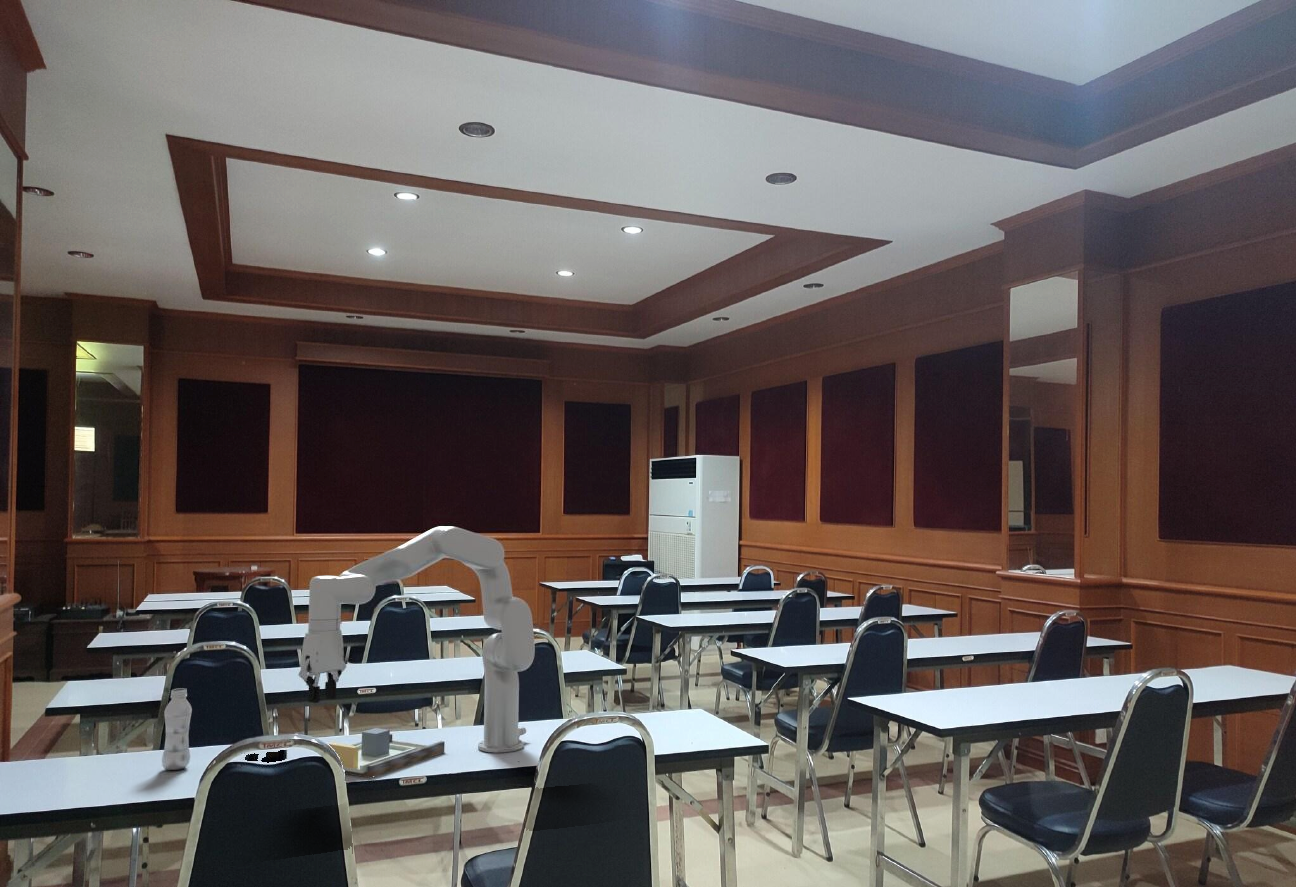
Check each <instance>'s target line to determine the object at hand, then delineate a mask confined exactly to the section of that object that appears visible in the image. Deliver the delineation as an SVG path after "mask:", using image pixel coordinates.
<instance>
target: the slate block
mask: <svg viewBox="0 0 1296 887" xmlns="http://www.w3.org/2000/svg"><path fill="white" fill-rule="evenodd" d="M390 734H391V730H390V729H386V728H385V729H384V728H379V727H374V728H371V729H367V730H364V731H362V732H361V742H362V751H361V755H364V756H370V757H379V756H382V755H385V754H388V753H389V743H390Z"/></svg>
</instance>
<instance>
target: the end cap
mask: <svg viewBox="0 0 1296 887" xmlns="http://www.w3.org/2000/svg"><path fill="white" fill-rule="evenodd" d="M258 755H259V754H255V753H254V754H250V755H249V754H248V755H246V757H245V760H247V761H258V760H257V759H258ZM285 759H287V760H288V749H287V750H280V751H278V752H267V753H266V757H264V758H262V760H261V761H262V762H267V763H269V762H276V761H282V760H285Z"/></svg>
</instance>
